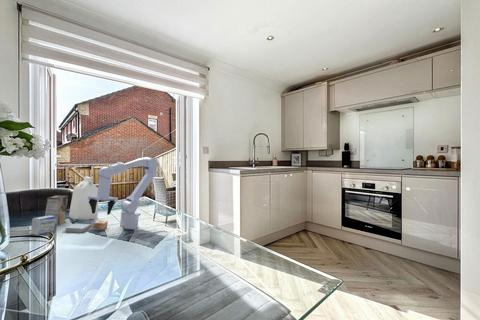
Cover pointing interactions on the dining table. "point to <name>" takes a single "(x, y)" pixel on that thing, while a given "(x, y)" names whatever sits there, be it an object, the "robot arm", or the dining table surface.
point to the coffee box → (57, 208)
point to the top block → (77, 228)
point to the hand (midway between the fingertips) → (101, 213)
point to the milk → (83, 200)
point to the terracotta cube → (100, 225)
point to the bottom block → (78, 232)
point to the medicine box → (42, 225)
